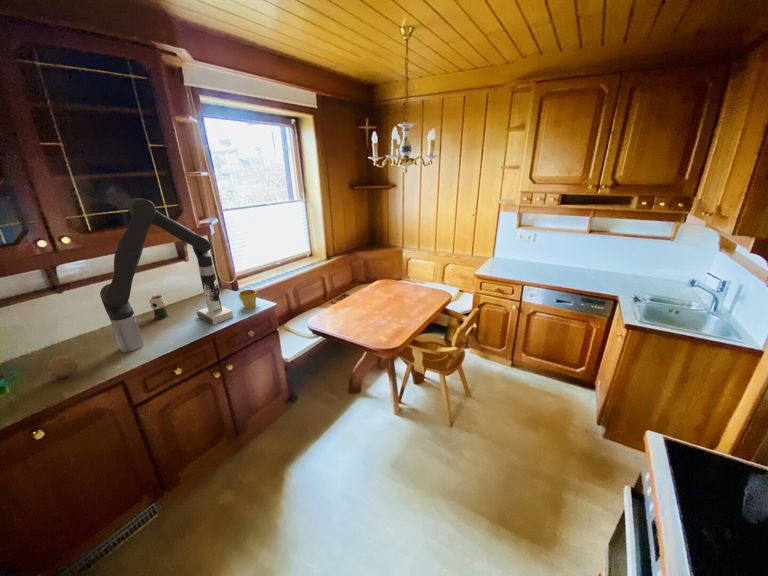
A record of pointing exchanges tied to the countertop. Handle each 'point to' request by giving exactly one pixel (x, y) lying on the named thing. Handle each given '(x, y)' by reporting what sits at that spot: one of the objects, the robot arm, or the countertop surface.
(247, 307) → the plant pot
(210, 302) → the syrup box
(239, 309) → the countertop surface
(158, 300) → the character mug
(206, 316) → the dock
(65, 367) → the natural sponge
